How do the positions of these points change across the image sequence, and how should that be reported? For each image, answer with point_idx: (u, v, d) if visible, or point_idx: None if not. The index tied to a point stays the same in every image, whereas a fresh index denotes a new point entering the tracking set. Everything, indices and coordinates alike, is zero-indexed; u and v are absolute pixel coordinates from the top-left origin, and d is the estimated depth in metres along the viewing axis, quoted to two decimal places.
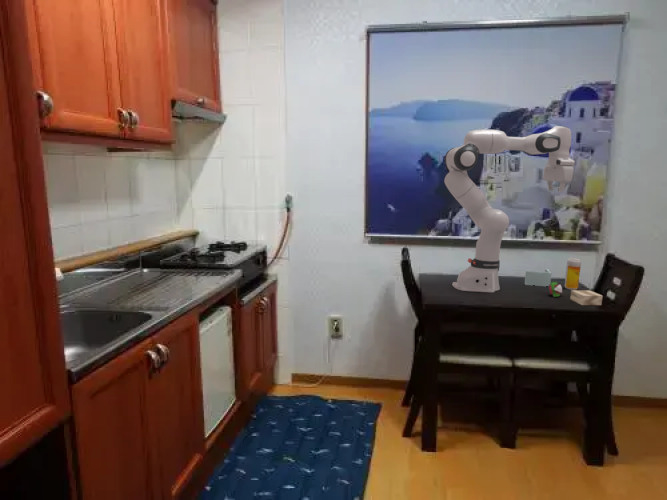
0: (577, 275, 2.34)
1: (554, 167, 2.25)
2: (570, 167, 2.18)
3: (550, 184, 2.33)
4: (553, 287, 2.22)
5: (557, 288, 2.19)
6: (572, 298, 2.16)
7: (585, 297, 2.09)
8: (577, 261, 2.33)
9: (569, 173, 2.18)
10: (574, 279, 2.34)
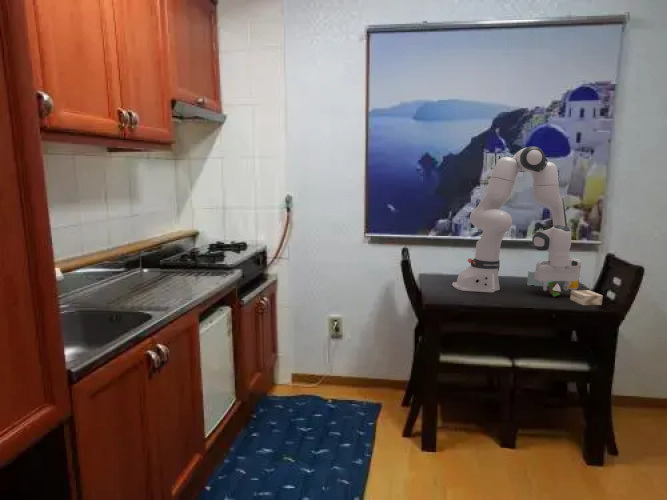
0: None
1: (564, 268, 2.19)
2: None
3: None
4: (551, 287, 2.22)
5: (555, 288, 2.19)
6: (572, 298, 2.16)
7: (586, 297, 2.08)
8: None
9: None
10: None
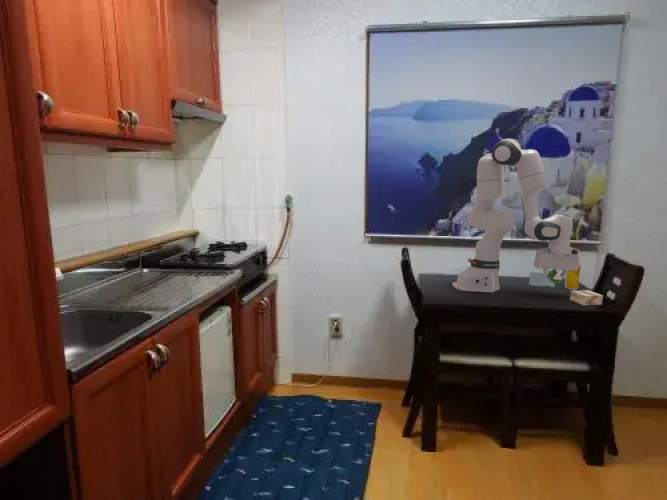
0: (577, 275, 2.34)
1: (564, 256, 2.18)
2: None
3: None
4: (552, 275, 2.21)
5: (556, 277, 2.18)
6: (572, 298, 2.16)
7: (587, 297, 2.08)
8: None
9: None
10: (574, 279, 2.34)
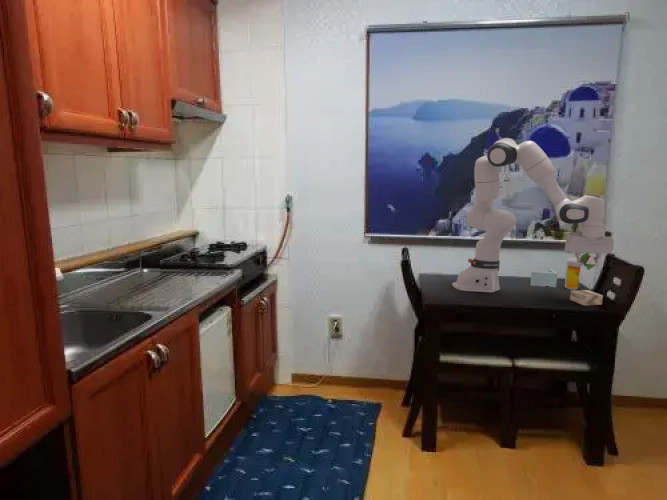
0: (577, 275, 2.34)
1: (597, 239, 2.07)
2: None
3: None
4: (585, 260, 2.10)
5: (589, 261, 2.07)
6: (572, 298, 2.16)
7: (587, 297, 2.08)
8: None
9: None
10: (574, 279, 2.34)
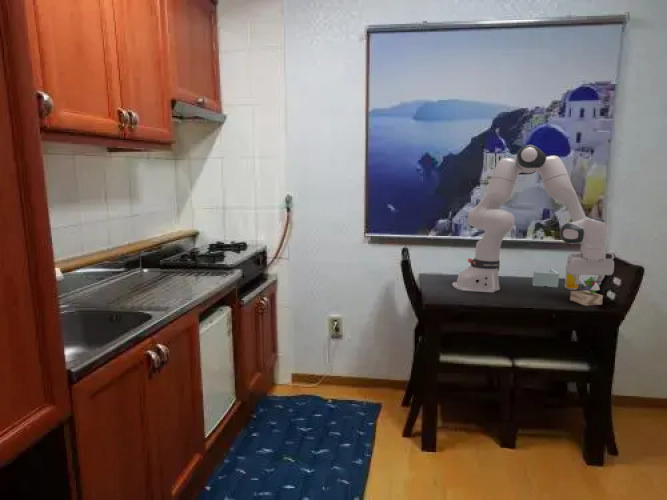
0: None
1: (597, 261, 2.08)
2: None
3: None
4: (589, 284, 2.11)
5: (594, 287, 2.08)
6: (572, 299, 2.16)
7: (588, 298, 2.08)
8: None
9: None
10: (574, 279, 2.34)
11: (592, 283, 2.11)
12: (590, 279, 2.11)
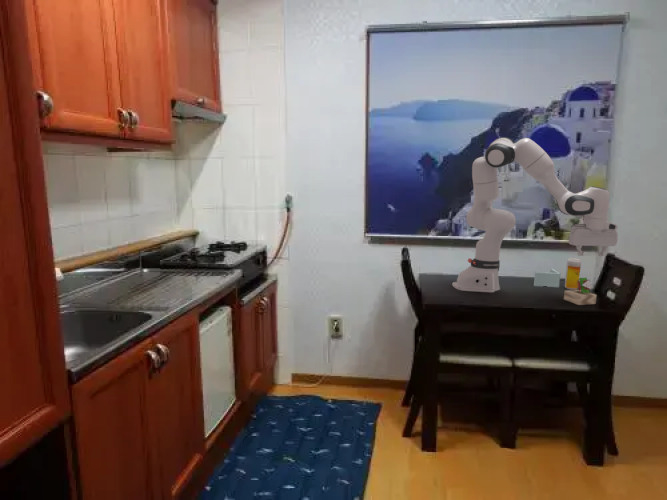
0: (577, 275, 2.34)
1: (601, 231, 2.06)
2: None
3: None
4: (582, 283, 2.14)
5: (585, 284, 2.11)
6: (566, 298, 2.16)
7: (582, 297, 2.09)
8: (577, 261, 2.33)
9: None
10: (574, 279, 2.34)
11: (585, 282, 2.13)
12: (584, 279, 2.15)
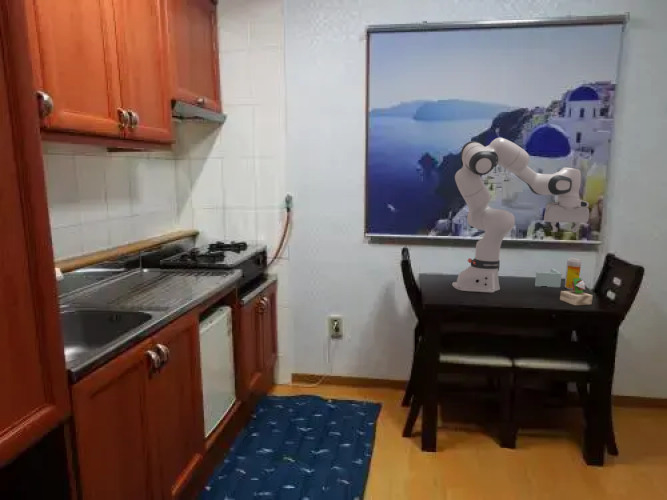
0: (577, 275, 2.34)
1: (573, 209, 2.22)
2: None
3: None
4: (576, 283, 2.14)
5: (579, 284, 2.10)
6: (562, 299, 2.15)
7: (578, 298, 2.08)
8: (577, 261, 2.33)
9: None
10: None
11: (579, 283, 2.13)
12: (578, 279, 2.14)
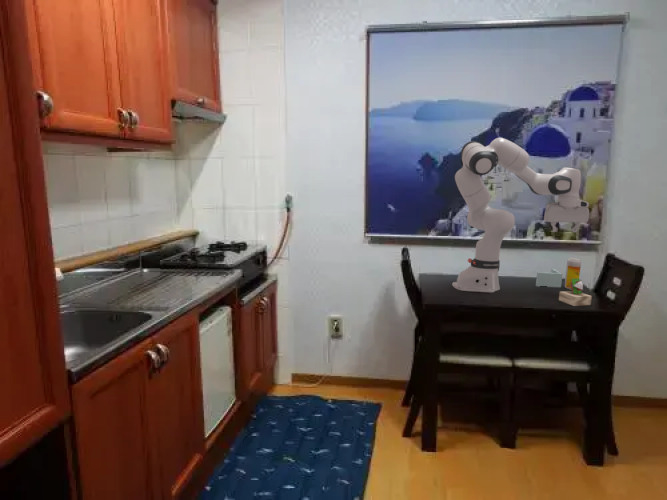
0: (577, 275, 2.34)
1: (573, 209, 2.22)
2: None
3: None
4: (574, 284, 2.13)
5: (577, 285, 2.09)
6: (561, 299, 2.14)
7: (577, 298, 2.07)
8: (577, 261, 2.33)
9: None
10: None
11: None
12: (577, 280, 2.13)
